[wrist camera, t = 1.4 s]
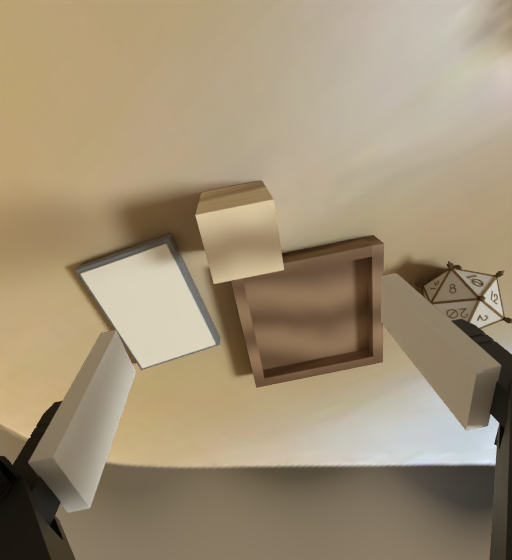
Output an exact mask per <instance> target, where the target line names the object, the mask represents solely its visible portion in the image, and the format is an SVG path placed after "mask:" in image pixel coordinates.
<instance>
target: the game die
mask: <svg viewBox="0 0 512 560" xmlns="http://www.w3.org/2000/svg"><path fill="white" fill-rule="evenodd" d="M447 266H448V268H449V269H448V270H446V271H445V272H443V273H442V274H440V275H439V276H437V277H436V278H434V279H433V280H431V281H429V282H428V283H426V284H425V285H423V284H422V283H420V282H419V283H416V285H417V286H418V287H422V288H423V294H424V298H426V299H427V300H428V301H429V302H430V303H431V304H432V305H433V306H435V307H436V308H437V309H438V310H439V311H440V312H441V313H443V314H444V315H445V316H446V317H447V318H448V319H449V320H450V321H452V320H457V319H463V320H465V321H468V322H470V323H472V324H474V325H476V326H477V327H478V328H480V329H482V328H484V327H487V326H489V325H492V324H494V323H497V322H499V321H502V320H504V321H506V322H508V324H509V323H512V319H510V318H506V317H505V316H504V311H503V305H502V300H501V295H500V290H499V285H498V280H497V278H498V277H501V276H502V275H503V273H504V271H498V273H496V275H490V274H484V273H478V272H473V271H467V270H462V269H461V268H462V267H461V266H459V265H458V266H457V267H456V268H453V264H452V263H451V262H450V261H449V262H448V264H447Z"/></svg>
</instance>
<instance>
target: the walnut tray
mask: <svg viewBox="0 0 512 560" xmlns="http://www.w3.org/2000/svg"><path fill="white" fill-rule="evenodd" d="M282 259H283V266H284V270H282V271H277V272H272V273H267V274H262V275H257V276H252V277H247V278H242V279H237V280H232V281H231V284H232V288H233V292H234V296H235V300H236V304H237V309H238V313H239V317H240V321H241V325H242V329H243V334H244V338H245V342H246V346H247V350H248V354H249V358H250V363H251V367H252V371H253V375H254V379H255V383H256V388H257V387H262V386H267V385H272V384H277V383H282V382H287V381H292V380H297V379H302V378H307V377H312V376H316V375H321V374H326V373H331V372H336V371H341V370H346V369H351V368H356V367H361V366H366V365H371V364H376V363H381V362H383V324H382V323H381V276H383V269H384V243H383V242H381V241H380V240H379V239H378V238H376V237H375V236H374V235H373V236H368V237H363V238H358V239H353V240H348V241H343V242H338V243H333V244H328V245H323V246H318V247H313V248H308V249H303V250H298V251H293V252H288V253H283V254H282Z"/></svg>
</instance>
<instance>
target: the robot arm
mask: <svg viewBox="0 0 512 560" xmlns="http://www.w3.org/2000/svg"><path fill="white" fill-rule="evenodd" d="M381 323H382V324H383V325H384V327H385V328H386V329H387V330H388V332H389V333H390V334H391V335H392V337H393V338H394V339H395V341H396V342H397V343H398V344H399V346H400V347H401V348H402V349H403V351H404V352H405V353H406V355H407V356H408V357H409V358H410V360H411V361H412V362H413V363H414V365H415V366H416V367H417V369H418V370H419V371H420V372H421V374H422V375H423V376H424V378H425V379H426V380H427V381H428V383H429V384H430V385H431V386H432V388H433V389H434V390H435V392H436V393H437V394H438V395H439V397H440V398H441V399H442V400H443V402H444V403H445V404H446V406H447V407H448V408H449V409H450V411H451V412H452V413H453V414H454V416H455V417H456V418H457V420H458V421H459V422H460V423H461V425H462V426H463V427H464V428H465V430H471V429H476V428H480V427H485V426H488V423H489V419H490V414H491V415H492V416H493V417H494V418H495V419H496V420H497V421H498V422H499V427H498V431H497V435H496V439H495V443H494V444H495V445H497V452H496V469H495V484H494V501H493V517H492V532H491V548H490V560H512V354H510V353H509V352H508V351H507V350H505V349H504V348H503V347H502V346H500V345H499V344H498V343H497V342H494V340H493V339H492V338H491V337H489V336H488V335H486V334H485V333H484V332H483V331H482V330H481V329H480V328H478V327H477V326H476V325H474V324H472V323H470V322H468V321H465V320H463V319H457V320H452V321H450V320H449V319H448V318H447V317H446V316H445V315H444V314H443V313H441V312H440V311H439V310H438V309H437V308H436V307H435V306H433V305H432V304H431V303H430V302H429V301H428V300H427V299H426V298H424V297H423V296H422V295H421V294H420V293H419V292H418V291H416V290H415V289H414V288H413V287H412V286H411V285H410V284H409V283H407V282H406V281H405V280H404V279H403V278H402V277H401V276H399V275H398V274H397V273H393V274H388V275H384V276H381ZM135 373H136V371H135V369H134V367H133V365H132V363H131V361H130V358H129V356H128V354H127V352H126V350H125V348H124V345H123V343H122V341H121V339H120V337H119V335H118V332H117V330H113V331H108V332H103V333H100V335H99V337H98V339H97V341H96V342H95V344H94V346H93V348H92V349H91V351H90V353H89V355H88V357H87V358H86V360H85V362H84V364H83V365H82V367H81V369H80V371H79V373H78V374H77V376H76V378H75V380H74V382H73V383H72V385H71V387H70V389H69V390H68V392H67V394H66V396H65V398H64V399H63V401H60V402H55V403H54V404H53V405H52V406H51V407H50V408H49V409H48V410H47V411H46V412H45V413H44V414H43V416H42V417H41V419H40V421H39V422H38V424H37V427H36V428H35V429H34V431H33V432H32V434H31V438H29V439H28V441H27V442H26V444H25V446H24V447H23V449H22V451H21V452H20V454H19V455H18V457H17V459H16V460H15V462H14V464H13V465H12V464H11V462H10V461H9V460H8V459H7V458H6V457H5V456H0V560H75V558H74V555H73V552H72V550H71V548H70V545H69V543H68V540H67V538H66V536H65V533H64V531H63V528H62V526H61V524H60V521H59V520H58V518H57V517H56V516H55V514H56V512H57V509H58V507H59V505H60V503H61V505H62V506H63V507H64V508H65V510H66V511H67V512H68V513H69V512H73V511H78V510H83V509H88V508H90V507H91V504H92V501H93V498H94V494H95V492H96V489H97V486H98V483H99V480H100V477H101V474H102V471H103V468H104V465H105V462H106V459H107V456H108V453H109V450H110V447H111V444H112V441H113V438H114V435H115V432H116V430H117V427H118V424H119V421H120V418H121V415H122V412H123V409H124V406H125V403H126V400H127V397H128V394H129V391H130V388H131V385H132V382H133V379H134V376H135Z"/></svg>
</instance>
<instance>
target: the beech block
mask: <svg viewBox="0 0 512 560" xmlns="http://www.w3.org/2000/svg"><path fill="white" fill-rule="evenodd" d="M195 216H196V220H197V223H198V227H199V231H200V234H201V238H202V242H203V245H204V249H205V253H206V257H207V260H208V264H209V268H210V271H211V275H212V279H213V283H214V284H217V283H222V282H227V281H232V280H237V279H242V278H247V277H252V276H257V275H262V274H267V273H272V272H277V271H282V270H284V266H283V259H282V252H281V246H280V239H279V232H278V226H277V219H276V212H275V206H274V199H273V198H272V196H271V194H270V193H269V191H268V190H267V188H266V186H265V185H264V183H263V182H262V181H257V182H252V183H247V184H242V185H237V186H232V187H227V188H222V189H217V190H212V191H207V192H202V193H201V195H200V199H199V203H198V207H197V211H196V214H195Z"/></svg>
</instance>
